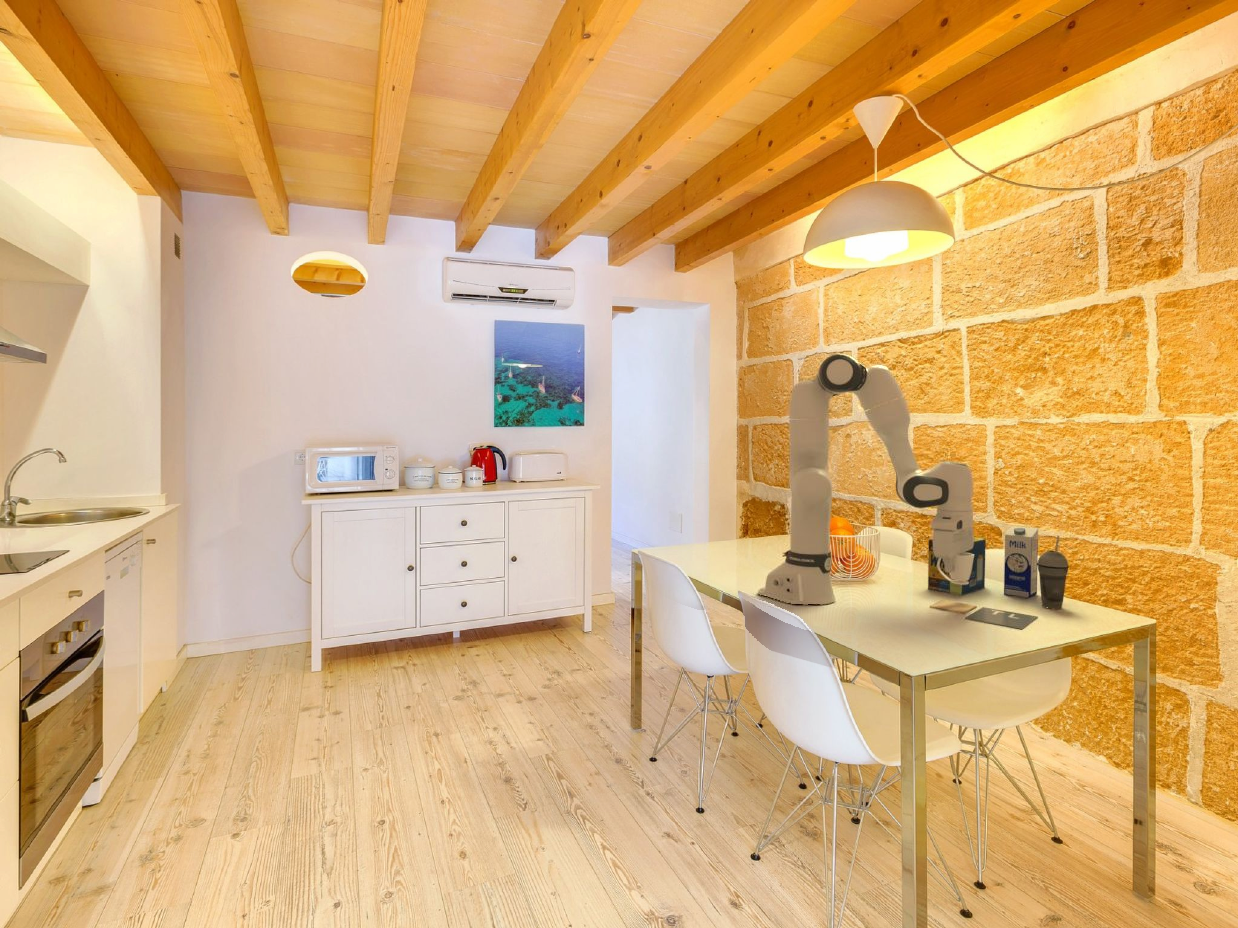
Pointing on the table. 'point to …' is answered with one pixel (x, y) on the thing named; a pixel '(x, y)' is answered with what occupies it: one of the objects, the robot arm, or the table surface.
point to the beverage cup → (1052, 577)
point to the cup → (960, 568)
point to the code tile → (1001, 618)
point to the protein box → (940, 582)
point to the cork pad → (953, 606)
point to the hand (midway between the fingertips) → (954, 569)
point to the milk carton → (1021, 562)
